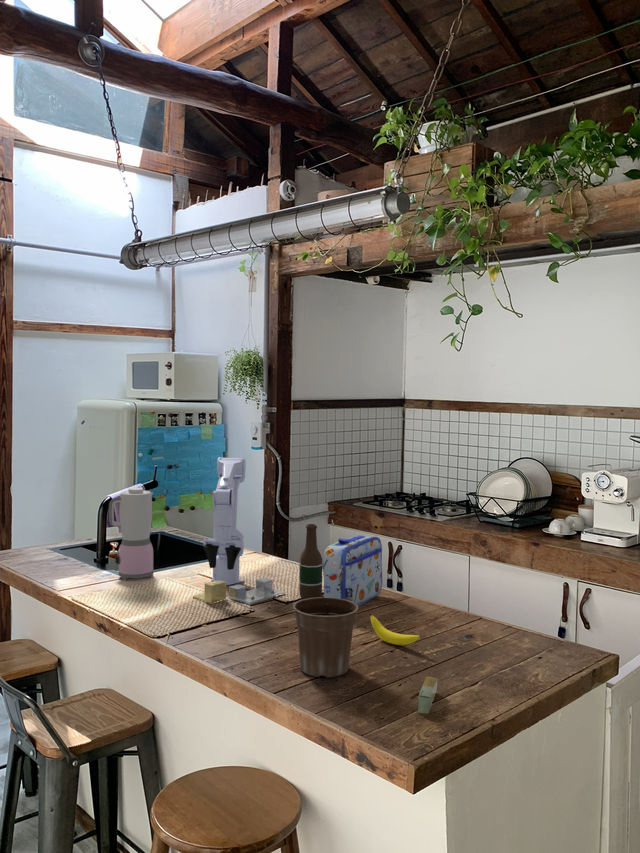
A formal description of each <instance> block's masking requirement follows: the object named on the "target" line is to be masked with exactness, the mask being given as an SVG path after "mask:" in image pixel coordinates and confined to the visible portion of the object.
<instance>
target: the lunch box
mask: <svg viewBox="0 0 640 853" xmlns="http://www.w3.org/2000/svg"><path fill="white" fill-rule="evenodd" d="M337 540H338V541H337V542H335V543H333V544H330V545H328V546H327V547H326V548H325V550H324V551H323V555H322V556H323V557H322V573H323V597H332V598H340V599H345V600H349V601H352V602H354V603H355V604H357V605H358V607H359V606H361V605H364V604H366V603H367V602H369V601H371V600H372V599H374V598H375V597H377V596H378V595H380V593H381V591H382V587H383V568H382V566H383V565H382V564H383V563H382V560H383V558H382V557H383V546H382V545H383V544H382V541H381V539H380V538H379V537H378V536H365V535H355V536H352V537H350V538H345V539H344V538H341V537H340V538H338V539H337Z"/></svg>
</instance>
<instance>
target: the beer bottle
mask: <svg viewBox="0 0 640 853" xmlns="http://www.w3.org/2000/svg"><path fill="white" fill-rule="evenodd" d="M305 528H306V533H305V534H306V535H305V546H304V549H303V550H302V552H301V554H300V556H299V576H298V577H299V581H298V582H299V584H298V586H299V588H298V591H299V596H300V597H301V598H302V597H304V598H303V599H307V598H315V597H323V557H322V555H321V553H320V551H319V549H318V543H317V529H318V526H317V524H316V523H309V524H306V526H305Z"/></svg>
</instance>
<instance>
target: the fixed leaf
mask: <svg viewBox="0 0 640 853" xmlns="http://www.w3.org/2000/svg"><path fill="white" fill-rule="evenodd" d="M273 581H274V580H273V579H271V578H267V577H262V578H257V579H256V580H255V588H252V589H249V590H247V586H246V585H245V586H244V585H242V584H239V583H237V584H233V585H229V587H228V599H231V600H234V601H236V600H237V601H236V602H239V601H240V602H239V603H242V602H243V604H246V605H249V606H251V605H254V604H257V603H260V602H264V601H267V600H270V599H274V598H273V597H274V596H276V595H279V594H283V593H285V594H286V592H285V591H282V590H279V589H275V588H274V587H273V583H274V582H273Z"/></svg>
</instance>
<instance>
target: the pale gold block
mask: <svg viewBox="0 0 640 853" xmlns="http://www.w3.org/2000/svg"><path fill="white" fill-rule="evenodd" d="M193 597H194V598H193ZM192 598H193V599H195V598H197V599H196V600H198V599H200V600H199V601H201V600H203V601H202V602H204V601H206V602H205V603H207V602H209V603H208V604H210V603H214V602H217V601H220V600H224V599H226V600H227V585H226V582H224V581H221V580H217V581H210V582H206V583H204V592H203V593H200V594H195V595H192ZM224 601H225V600H224ZM217 603H218V602H217ZM214 604H215V603H214Z"/></svg>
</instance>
